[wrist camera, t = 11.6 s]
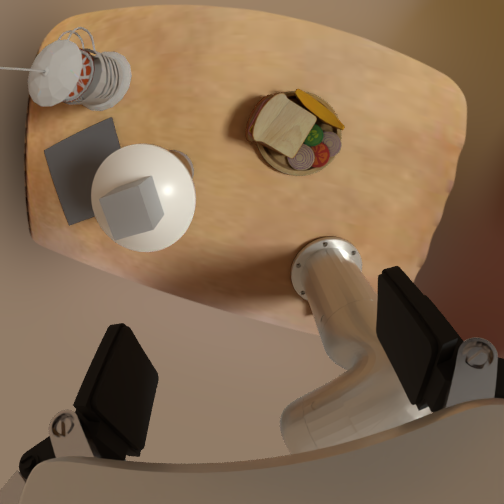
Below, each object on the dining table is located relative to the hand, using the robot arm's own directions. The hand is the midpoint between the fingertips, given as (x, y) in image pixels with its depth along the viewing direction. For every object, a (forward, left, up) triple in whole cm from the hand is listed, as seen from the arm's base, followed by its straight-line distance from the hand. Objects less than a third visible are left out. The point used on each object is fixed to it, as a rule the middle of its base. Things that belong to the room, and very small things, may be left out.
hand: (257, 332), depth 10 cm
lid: (+2, +10, -19) cm, 22 cm away
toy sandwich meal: (+3, -8, -35) cm, 36 cm away
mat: (+6, +24, -34) cm, 42 cm away
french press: (+20, +17, -34) cm, 43 cm away
